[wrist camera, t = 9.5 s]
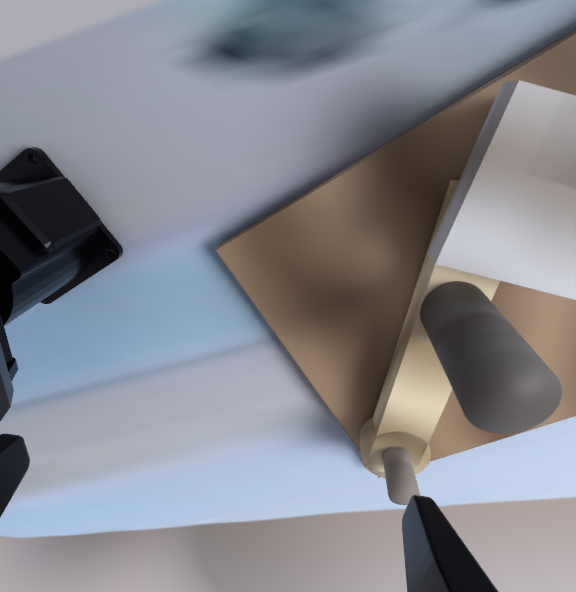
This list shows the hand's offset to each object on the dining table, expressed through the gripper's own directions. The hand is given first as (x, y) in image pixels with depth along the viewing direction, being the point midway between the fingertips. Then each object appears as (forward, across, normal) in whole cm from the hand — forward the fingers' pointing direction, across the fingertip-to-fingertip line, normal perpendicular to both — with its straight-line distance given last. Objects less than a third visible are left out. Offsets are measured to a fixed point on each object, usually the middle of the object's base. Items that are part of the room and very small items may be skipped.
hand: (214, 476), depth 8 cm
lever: (+12, -9, +3) cm, 15 cm away
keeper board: (+13, -10, +1) cm, 17 cm away
